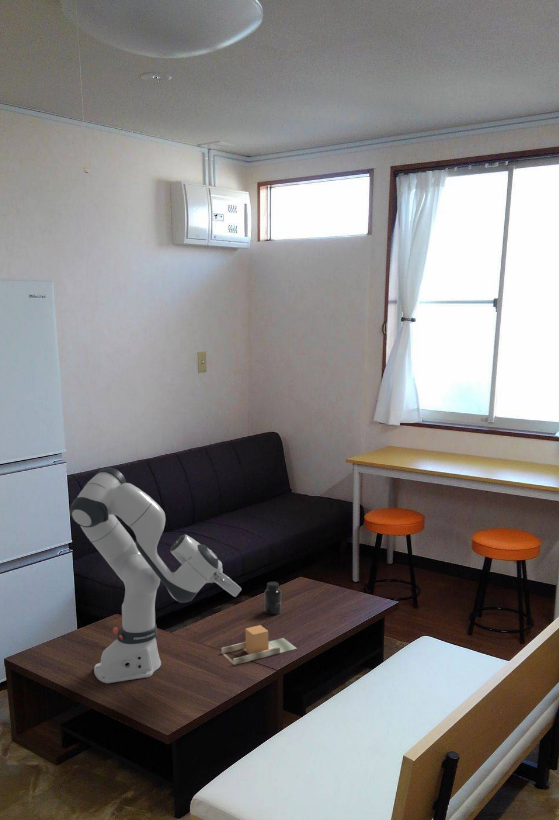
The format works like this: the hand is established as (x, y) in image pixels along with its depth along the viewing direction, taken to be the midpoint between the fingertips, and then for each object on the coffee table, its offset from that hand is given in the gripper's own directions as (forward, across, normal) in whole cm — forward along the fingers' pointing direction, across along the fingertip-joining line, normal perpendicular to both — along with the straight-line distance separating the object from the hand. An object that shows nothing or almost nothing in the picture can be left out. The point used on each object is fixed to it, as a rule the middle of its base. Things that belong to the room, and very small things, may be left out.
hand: (235, 592), depth 243 cm
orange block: (+22, 0, +11) cm, 25 cm away
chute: (+24, 0, +11) cm, 27 cm away
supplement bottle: (+40, +32, -4) cm, 51 cm away
